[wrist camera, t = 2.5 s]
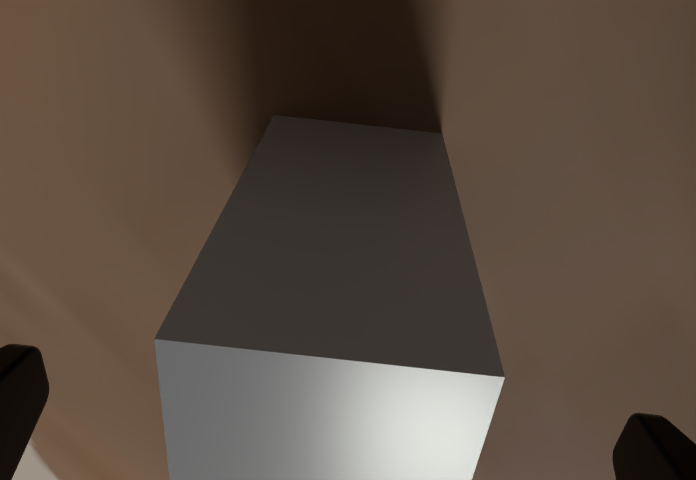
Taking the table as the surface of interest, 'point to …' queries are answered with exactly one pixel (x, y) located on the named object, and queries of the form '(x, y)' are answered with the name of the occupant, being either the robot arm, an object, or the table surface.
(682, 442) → the robot arm
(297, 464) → the grey rectangular block
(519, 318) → the table surface
